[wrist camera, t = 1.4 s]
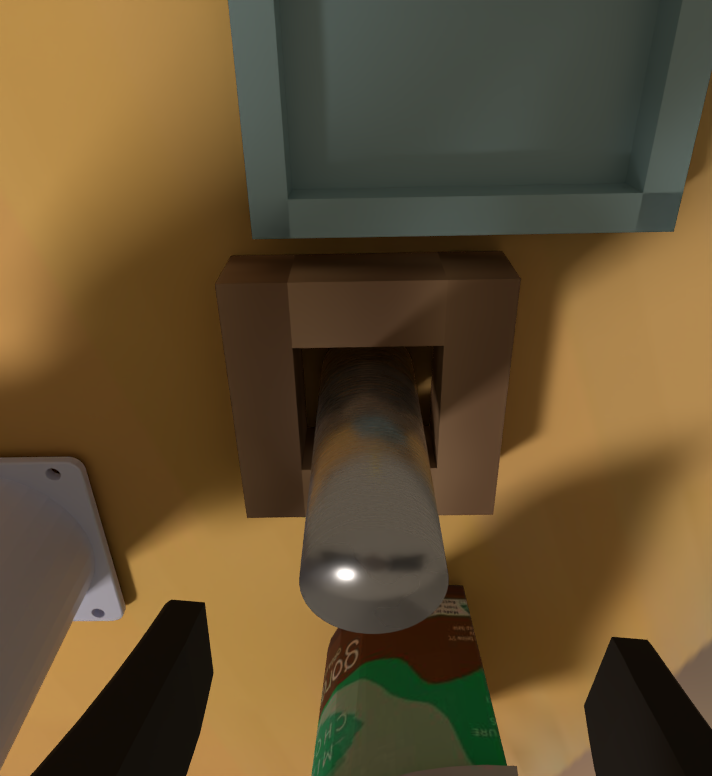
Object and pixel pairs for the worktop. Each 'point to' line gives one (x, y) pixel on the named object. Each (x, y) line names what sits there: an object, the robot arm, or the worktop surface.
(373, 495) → the pin
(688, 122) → the tray
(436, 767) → the food container
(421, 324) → the holder
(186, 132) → the worktop surface
